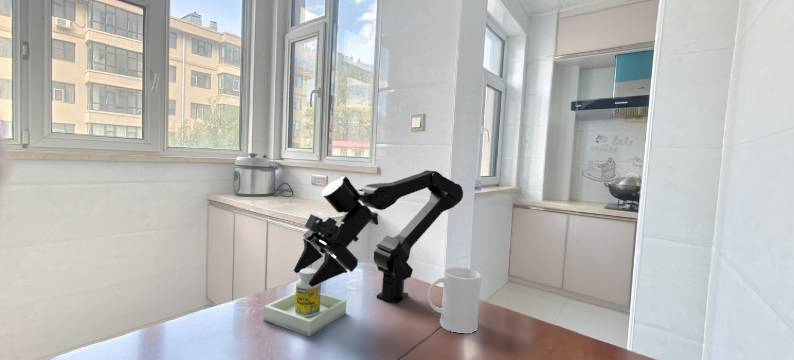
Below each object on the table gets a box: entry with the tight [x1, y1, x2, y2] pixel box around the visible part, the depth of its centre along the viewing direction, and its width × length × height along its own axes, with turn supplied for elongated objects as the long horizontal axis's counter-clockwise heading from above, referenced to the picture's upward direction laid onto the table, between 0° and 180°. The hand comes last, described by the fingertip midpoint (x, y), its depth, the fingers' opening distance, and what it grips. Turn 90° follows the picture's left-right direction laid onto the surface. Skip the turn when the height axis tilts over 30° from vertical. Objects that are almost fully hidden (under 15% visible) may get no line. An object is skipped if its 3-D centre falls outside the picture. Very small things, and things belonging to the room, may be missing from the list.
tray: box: [263, 291, 347, 337], centre depth 75 cm, size 13×13×3 cm
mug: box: [427, 266, 482, 334], centre depth 76 cm, size 12×8×12 cm
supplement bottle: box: [295, 267, 322, 318], centre depth 75 cm, size 5×5×10 cm
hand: (302, 278), depth 74 cm, fingers open, 9 cm apart
